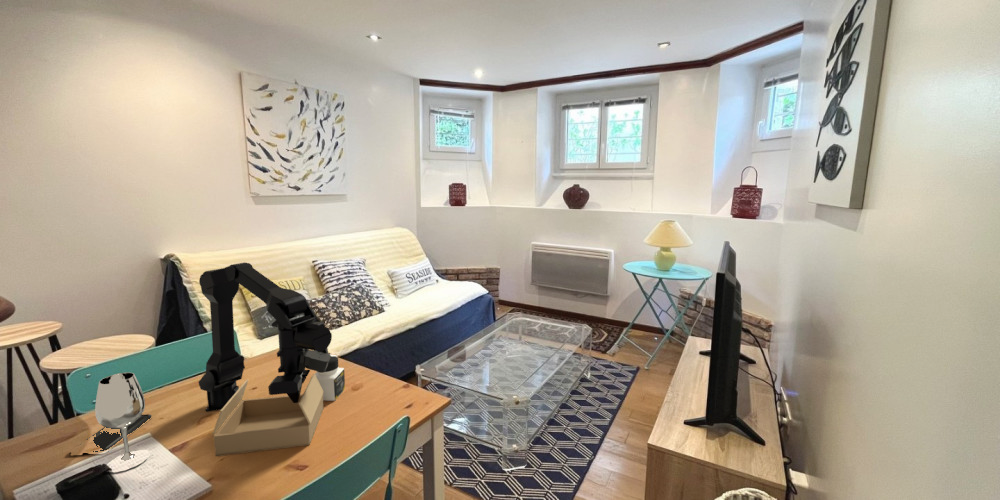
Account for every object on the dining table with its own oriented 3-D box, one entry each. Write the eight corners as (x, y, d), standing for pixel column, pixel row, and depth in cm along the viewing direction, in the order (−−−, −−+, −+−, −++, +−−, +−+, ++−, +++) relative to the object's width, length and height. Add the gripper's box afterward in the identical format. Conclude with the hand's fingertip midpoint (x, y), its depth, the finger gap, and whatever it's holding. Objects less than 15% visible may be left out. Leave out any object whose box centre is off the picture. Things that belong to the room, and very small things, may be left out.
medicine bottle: (335, 401, 113) (333, 362, 112) (311, 400, 114) (309, 362, 112) (345, 389, 120) (343, 352, 119) (322, 388, 121) (320, 351, 119)
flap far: (322, 392, 108) (323, 391, 108) (309, 424, 94) (310, 423, 94) (313, 374, 107) (314, 373, 107) (298, 403, 92) (300, 402, 92)
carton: (215, 456, 89) (213, 436, 89) (243, 417, 105) (242, 399, 104) (309, 444, 94) (308, 425, 93) (323, 408, 109) (322, 392, 109)
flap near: (214, 434, 89) (212, 434, 89) (241, 400, 103) (239, 399, 103) (222, 410, 89) (220, 410, 88) (248, 379, 103) (246, 379, 103)
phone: (153, 414, 104) (104, 450, 89) (154, 418, 104) (105, 455, 89) (120, 415, 103) (65, 453, 88) (121, 419, 103) (66, 457, 88)
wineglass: (110, 479, 82) (97, 390, 79) (98, 465, 86) (86, 380, 83) (157, 458, 88) (147, 375, 85) (144, 445, 92) (134, 366, 89)
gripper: (318, 357, 90) (322, 419, 92) (333, 329, 108) (336, 382, 110) (265, 361, 87) (270, 424, 90) (289, 332, 105) (293, 385, 108)
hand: (296, 402), depth 99 cm, fingers closed
